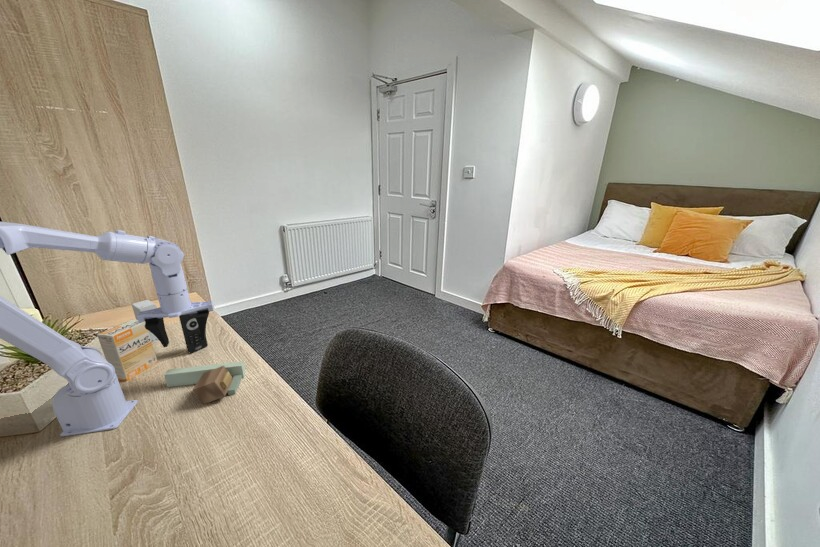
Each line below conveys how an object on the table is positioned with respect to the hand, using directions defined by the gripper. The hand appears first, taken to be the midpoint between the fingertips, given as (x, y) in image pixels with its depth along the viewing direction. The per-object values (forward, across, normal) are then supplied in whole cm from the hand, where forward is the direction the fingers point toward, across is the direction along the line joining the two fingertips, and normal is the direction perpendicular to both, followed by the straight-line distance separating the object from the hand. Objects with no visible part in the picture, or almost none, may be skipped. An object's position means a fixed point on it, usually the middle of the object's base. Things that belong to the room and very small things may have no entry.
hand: (185, 341), depth 75 cm
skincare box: (+11, -14, +26) cm, 32 cm away
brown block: (+8, +3, -9) cm, 13 cm away
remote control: (+10, -1, +13) cm, 17 cm away
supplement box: (+11, -14, +9) cm, 20 cm away
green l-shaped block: (+10, +3, -3) cm, 11 cm away
